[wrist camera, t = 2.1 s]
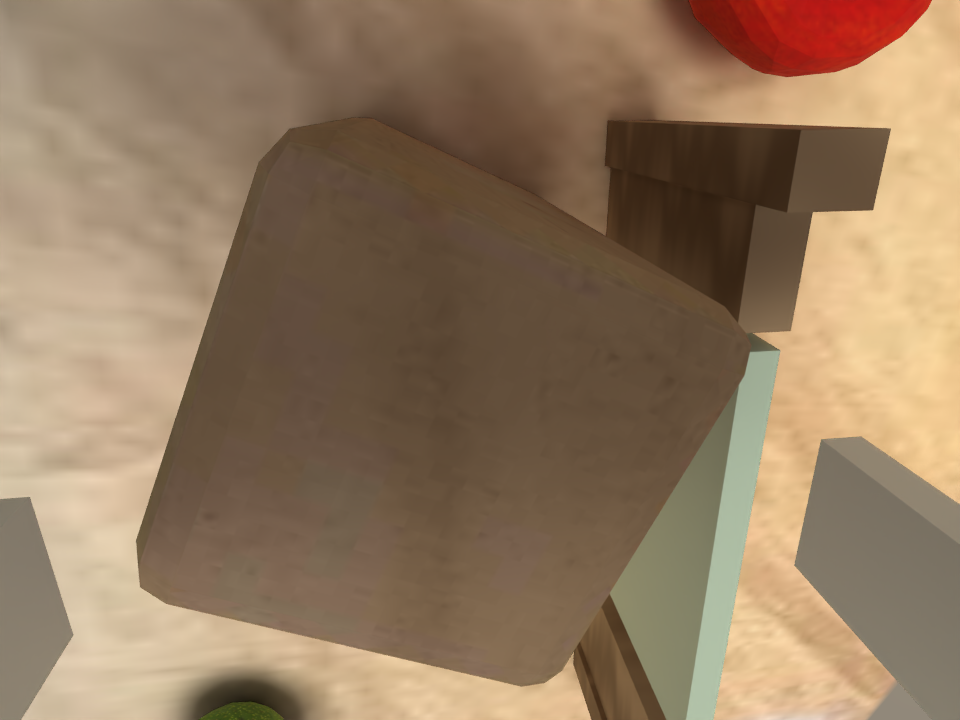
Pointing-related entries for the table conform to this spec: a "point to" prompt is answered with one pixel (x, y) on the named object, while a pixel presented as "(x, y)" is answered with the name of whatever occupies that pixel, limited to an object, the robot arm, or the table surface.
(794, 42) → the apple
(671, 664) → the door
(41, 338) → the table surface
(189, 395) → the wooden block
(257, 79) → the table surface
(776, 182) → the wall frame
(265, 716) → the fruit
